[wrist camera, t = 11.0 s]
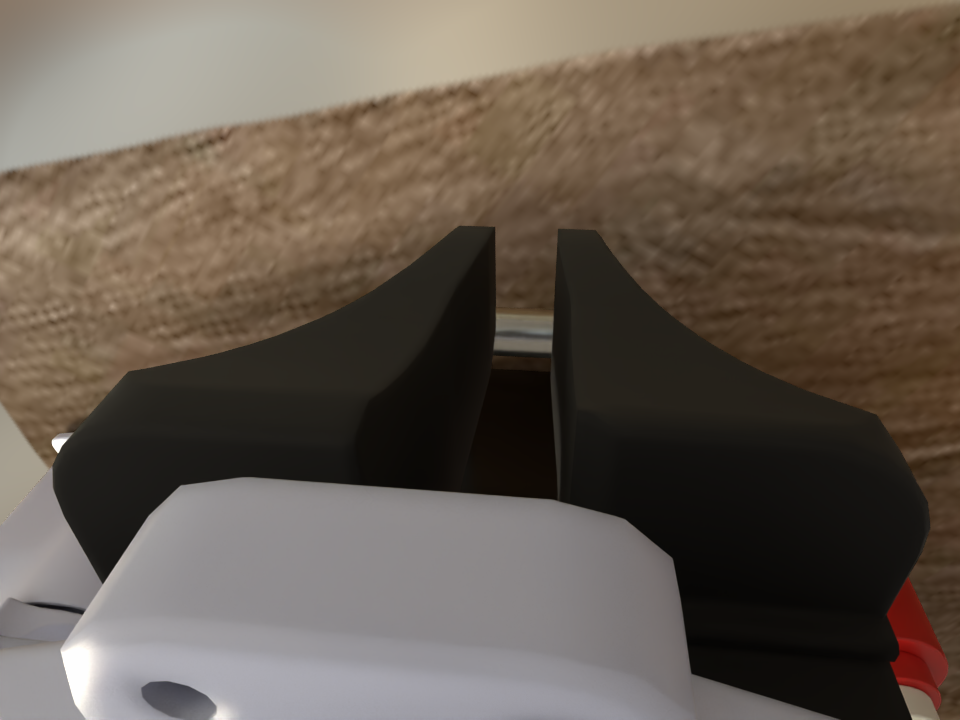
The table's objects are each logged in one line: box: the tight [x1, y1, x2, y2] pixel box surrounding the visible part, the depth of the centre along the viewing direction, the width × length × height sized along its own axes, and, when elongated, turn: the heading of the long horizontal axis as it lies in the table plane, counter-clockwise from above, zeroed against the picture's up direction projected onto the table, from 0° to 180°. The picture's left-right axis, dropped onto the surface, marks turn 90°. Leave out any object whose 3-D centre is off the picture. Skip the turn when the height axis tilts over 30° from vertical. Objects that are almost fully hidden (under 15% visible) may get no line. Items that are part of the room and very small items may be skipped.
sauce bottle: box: [887, 577, 948, 720], centre depth 25 cm, size 4×4×9 cm
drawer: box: [460, 307, 558, 501], centre depth 25 cm, size 18×12×6 cm
